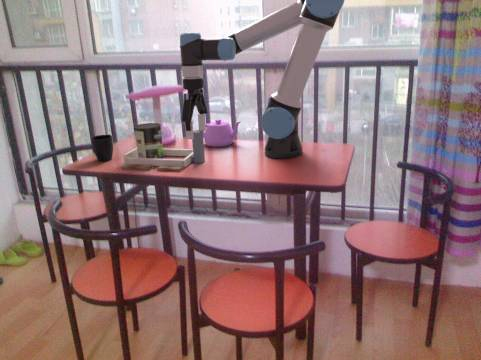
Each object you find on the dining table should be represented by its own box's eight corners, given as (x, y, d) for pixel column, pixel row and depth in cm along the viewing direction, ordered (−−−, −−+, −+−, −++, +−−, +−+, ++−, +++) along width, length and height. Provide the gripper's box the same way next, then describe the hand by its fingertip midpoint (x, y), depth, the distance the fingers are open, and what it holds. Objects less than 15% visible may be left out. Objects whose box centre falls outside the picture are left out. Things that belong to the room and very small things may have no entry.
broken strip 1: (152, 167, 159) (152, 165, 159) (149, 170, 157) (149, 167, 156) (126, 166, 162) (126, 163, 162) (122, 168, 159) (122, 166, 159)
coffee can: (168, 156, 172) (164, 122, 168) (158, 164, 163) (154, 128, 158) (144, 156, 174) (140, 122, 170) (133, 163, 165) (129, 128, 160)
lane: (209, 156, 170) (207, 126, 166) (196, 167, 156) (193, 136, 152) (142, 153, 177) (139, 125, 173) (124, 164, 164) (120, 134, 160)
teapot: (237, 149, 179) (236, 123, 175) (194, 147, 185) (192, 122, 181) (246, 141, 191) (246, 117, 187) (206, 139, 197) (204, 116, 193)
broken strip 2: (183, 168, 156) (183, 166, 156) (180, 171, 153) (180, 168, 153) (161, 167, 158) (161, 165, 158) (157, 170, 156) (157, 167, 155)
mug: (122, 154, 179) (119, 132, 175) (109, 163, 167) (106, 139, 164) (104, 154, 180) (101, 132, 177) (90, 162, 169) (86, 139, 166)
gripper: (195, 73, 165) (198, 127, 172) (169, 81, 142) (174, 142, 150) (213, 73, 163) (215, 127, 170) (190, 81, 140) (194, 143, 148)
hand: (196, 134), depth 160 cm, fingers open, 13 cm apart
